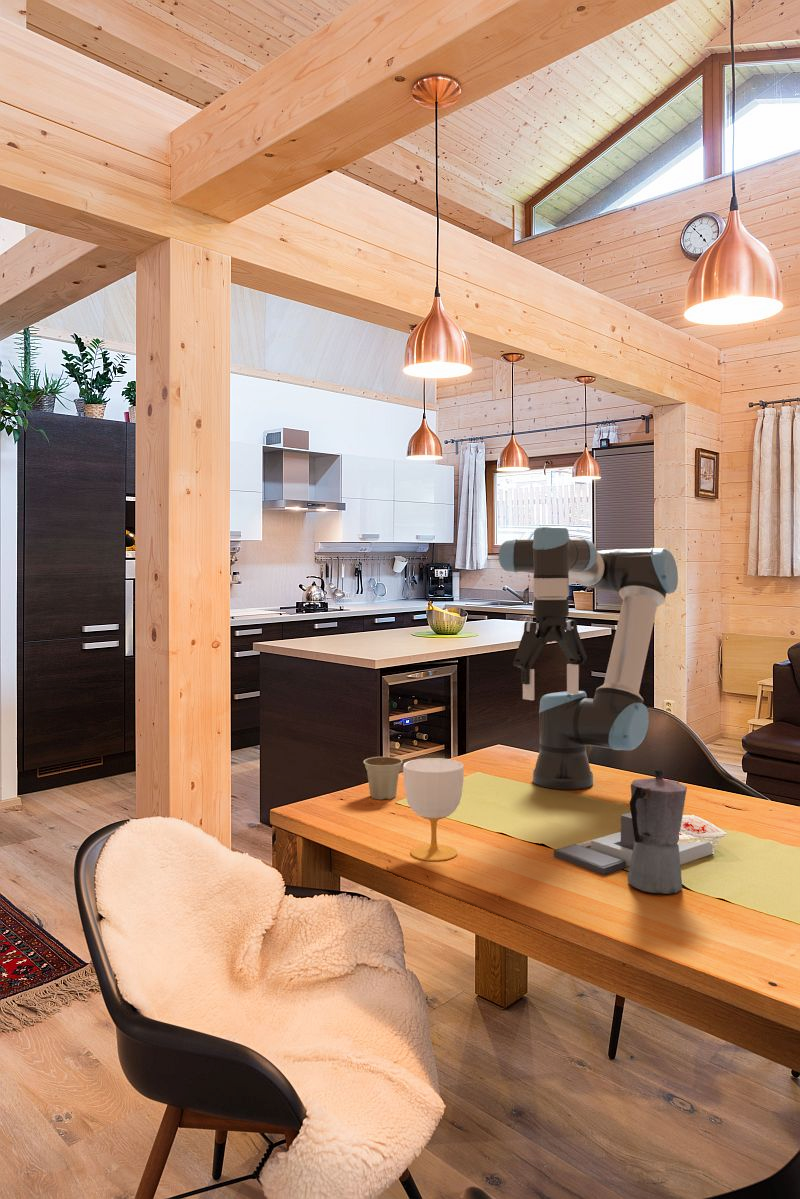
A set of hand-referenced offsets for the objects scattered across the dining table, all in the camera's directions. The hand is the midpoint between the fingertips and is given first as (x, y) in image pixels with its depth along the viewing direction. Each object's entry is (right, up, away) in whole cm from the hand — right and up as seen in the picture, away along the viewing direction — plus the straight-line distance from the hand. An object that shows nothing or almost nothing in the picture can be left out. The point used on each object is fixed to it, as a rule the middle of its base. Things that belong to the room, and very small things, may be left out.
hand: (551, 696), depth 177 cm
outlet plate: (+15, -27, -22) cm, 38 cm away
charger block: (+12, -27, -24) cm, 38 cm away
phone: (+2, -28, -26) cm, 38 cm away
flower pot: (-37, -27, +20) cm, 49 cm away
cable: (+6, -27, -16) cm, 32 cm away
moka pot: (+11, -28, -38) cm, 49 cm away
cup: (-26, -28, -21) cm, 43 cm away
